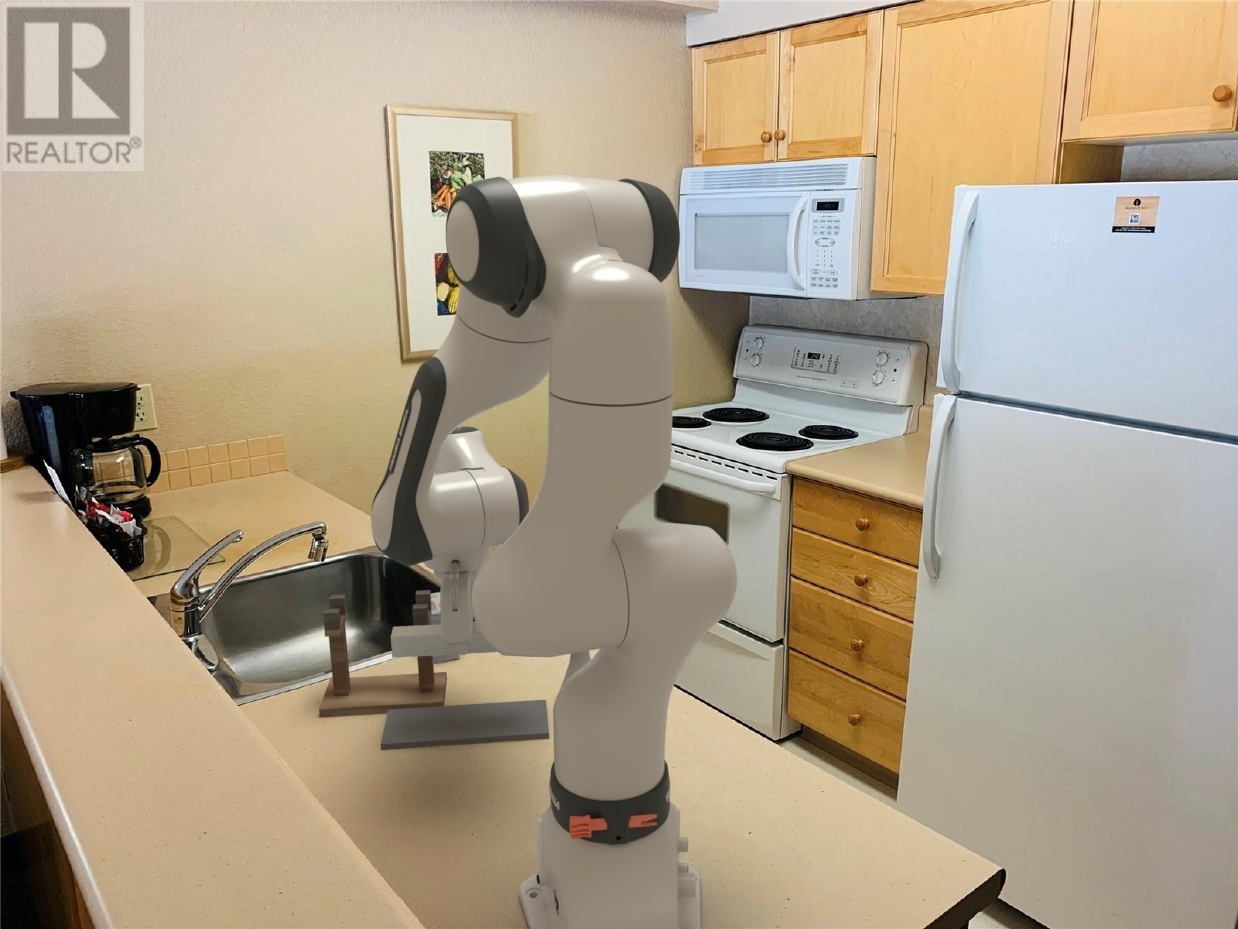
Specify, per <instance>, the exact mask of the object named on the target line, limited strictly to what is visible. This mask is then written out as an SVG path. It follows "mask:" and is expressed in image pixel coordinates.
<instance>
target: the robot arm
mask: <svg viewBox="0 0 1238 929" xmlns="http://www.w3.org/2000/svg"><path fill="white" fill-rule="evenodd" d="M680 231H681V229H680V223H679V219H678V214H677V213H676V209H675V207H674V205H673V203H672V200H671V199H670V197H669V196H668V195H667V193H666V192H664V191H663V190H662V189H661V188H659V187H658V186H655V185H653V184H651V183H648V182H645V181H641V180H636V179H631V178H622V179H619V180H614V179H605V178H599V177H587V176H586V177H584V176H571V175H569V174H565V173H564V174H563V173H562V174H561V173H560V174H542V175H539V174H538V175H529V176H521V177H520V176H519V177H513V178H509V179H507V178H505V177H504V176H503V177H502V176H495V177H489V178H485V179H481V180H478V181H477V180H476V181H474V182H470V183H468V184H466V185H464V186H463V187H461V188H460V189H459V190H458V191H457V192H456V194H455V195H454V198H453V200H452V201H451V203H450V206H449V207H448V211H447V215H446V221H445V243H446V244H445V246H446V253H447V258H448V262H449V265H450V267H451V268H450V269H451V271H452V273H453V275H454V277H455V278H456V280H457V281H458V283H459V289H458V297H457V304H456V311H455V317H454V320H453V324H452V325H451V327H450V330H449V332H448V334H447V336H446V337H445V339H444V341H443V343H442V344H441V345H440V347H439V348H438V350H437V351H436V352H435V353H434V354H433V356H431V357H429V358H428V359H427V360H426V361H425V362H423V363H422V364H421V365H419V367H418V369H417V371H416V373H415V375H414V378H413V381H412V384H411V386H410V390H409V392H408V396H407V398H406V401H405V406H404V409H403V412H402V414H401V415H402V416H401V419H400V422H399V426H398V428H397V433H396V436H395V439H394V440H395V441H394V444H393V447H392V450H391V454H390V458H389V461H388V464H387V466H386V467H387V468H386V471H385V473H384V477H383V478H382V480H381V483H380V485H379V486H378V489H377V491H376V493H375V495H374V498H373V501H372V504H371V509H370V510H371V512H370V527H371V533H372V537H373V541H374V544H375V546H376V547H377V549H378V550H379V551H380V552H381V553H382V554H383V555H385V556H386V557H387V558H389V559H391V560H393V561H394V562H396V563H399V564H401V566H405V567H407V568H408V567H411V566H415V565H418V564H422V563H423V564H424V566H425V567H426V568H427V569H430V570H433V575H434V576H435V577H436V578H437V579H439V580H441V584H440V609H441V634H442V641H443V643H444V644H445V645H454V654H456V655H459V656H465V655H468V654H467V652H468V644H469V643H470V642H471V640H472V629H473V623H476V624H477V627H478V629H479V631H480V633H481V634H482V636H483V637H484V639H485V640H486V641H487V642H488V643H489V644H490V646H492V647H493V648H494V649H495V650H496V651H498V652H497V653H499V654H500V655H502V656H505V657H506V656H507V657H524V658H525V657H526V658H554V657H555V658H556V657H559V656H560V657H561V656H565V655H571V654H572V653H578V652H584V651H589V652H590V651H593V650H595V651H596V650H598V651H597V652H596V653H595V655H594V656H593V657H592V658H590V659H591V660H590V661H589V662H588V663H587V664H586V665H584V666H583V667H582V668H580V669H579V670H578V671H576V672H575V673H574V674H573V675H571V676H570V677H569V678H568V679H567V680H566V681H565V683H564V684H563V685H562V684H561V685H562V687H561V686H560V688H561V689H560V688H559V691H558V693H557V695H556V697H555V700H554V703H553V708H552V716H553V717H552V720H553V722H552V724H553V726H552V727H553V760H554V761H553V762H552V764H551V766H550V773H549V774H550V776H549V781H548V783H549V784H548V788H549V796H550V805H549V807H548V808H547V809H546V811H545V812H543V814H542V815H540V817H539V818H538V819H537V820H536V873H534V874H532V875H530V876H529V877H527V878H525V879H524V880H523V881H522V882H521V883H520V885H519V893H518V894H519V896H518V897H519V900H520V903H521V907H522V909H523V912H524V916H525V919H526V922H527V924H528V928H529V929H702V906H701V905H702V902H701V901H702V900H701V899H702V895H701V894H702V893H701V892H702V891H701V887H702V886H701V885H702V884H701V883H702V882H701V875H700V871H699V869H698V868H697V867H695V866H694V865H692V864H689V863H687V862H684V861H681V860H680V853H687V852H688V851H689V840H688V837H686V836H681V809H680V808H679V807H678V806H677V805H675V804H674V803H673V802H671V799H670V798H671V779H670V778H671V777H670V775H669V773H670V772H669V765H668V763H667V761H666V760H665V759H666V758H665V757H666V756H665V755H666V732H667V721H668V709H669V704H670V698H671V694H672V691H673V689H674V686H675V684H676V680H677V678H678V676H679V674H680V672H681V670H682V668H683V666H684V664H685V663H686V660H687V659H688V657H689V656H690V655H691V653H692V651H693V650H694V648H695V647H696V646H697V645H698V643H699V642H700V641H701V639H702V638H703V637H704V636H705V634H706V633H707V632H709V631H710V630H711V629H712V628H713V627H714V626H715V625H716V624H718V622H720V621H721V620H723V619H724V618H725V616H727V614H728V612H729V611H730V608H731V607H732V604H733V603H734V599H735V595H736V592H737V586H738V583H737V582H738V572H737V567H736V563H735V560H734V557H733V554H732V552H731V549H730V548H729V546H728V544H727V543H726V541H724V539H723V538H722V537H721V536H720V534H718V533H717V532H716V531H715V530H714V529H713V528H711V527H709V526H704V525H696V524H689V523H688V524H687V523H675V522H660V523H659V522H658V523H652V524H644V525H637V526H629V527H621V528H617V527H618V526H619V525H620V523H621V522H622V520H623V519H624V518H625V517H626V516H627V514H629V513H630V511H632V510H633V509H634V508H635V507H636V506H638V505H640V504H641V503H642V502H644V501H645V500H646V499H648V498H649V497H651V496H652V495H653V494H655V492H657V491H658V490H659V488H660V487H662V484H664V482H665V480H666V477H667V475H668V473H669V471H670V468H671V463H672V462H671V461H672V436H673V434H672V433H673V411H674V410H673V409H674V376H675V375H674V370H675V369H674V352H673V350H674V348H673V337H672V336H673V335H672V328H671V321H670V311H669V306H668V300H667V295H666V291H665V289H664V286H663V284H662V283H663V282H664V281H665V280H666V279H667V278H668V276H669V275H670V274H671V272H672V270H673V269H674V266H675V263H676V261H677V258H678V255H679V250H680V246H681V245H680V243H681V232H680ZM547 375H548V425H547V426H548V427H547V441H546V442H547V444H546V446H547V447H546V454H545V455H546V456H545V466H544V472H543V476H542V480H541V484H540V486H539V489H538V492H537V494H536V497H535V498H534V501H533V502H532V504H531V506H530V501H529V492H528V488H527V484H526V483H525V481H524V480H523V479H522V478H521V477H520V476H519V475H518V474H517V473H515V472H514V471H513V470H511V469H509V468H508V467H506V466H504V465H500V464H499V463H498V462H497V461H496V459H495V458H494V457H493V456H492V455H491V453H489V450H488V448H487V446H486V441H485V437H484V434H483V432H482V430H480V429H479V428H477V427H473V426H461V425H462V424H464V423H465V422H467V421H468V420H470V419H471V420H472V418H474V417H476V416H477V415H480V414H482V413H483V412H486V411H488V410H491V409H493V408H495V407H497V406H500V405H503V404H505V403H509V402H510V401H513V400H516V399H518V398H520V397H522V396H524V395H526V394H527V393H529V392H530V391H532V390H533V389H535V387H537V386H538V385H539V384H540V383H541V382H542V381H543V380H544V379H545V378H546V377H547ZM498 545H499V546H498ZM493 546H498V547H497V548H496V549H495V550H493V551H492V547H493ZM474 621H475V622H474Z"/></svg>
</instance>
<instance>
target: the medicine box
mask: <svg viewBox="0 0 1238 929" xmlns="http://www.w3.org/2000/svg"><path fill="white" fill-rule="evenodd" d="M431 606H432V613H431V625H439V624H441V609H440V592H434V593H431ZM459 659H460V655H456V654H451V655H433V664H439V663H446V662H450V661H456V660H459Z"/></svg>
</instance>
